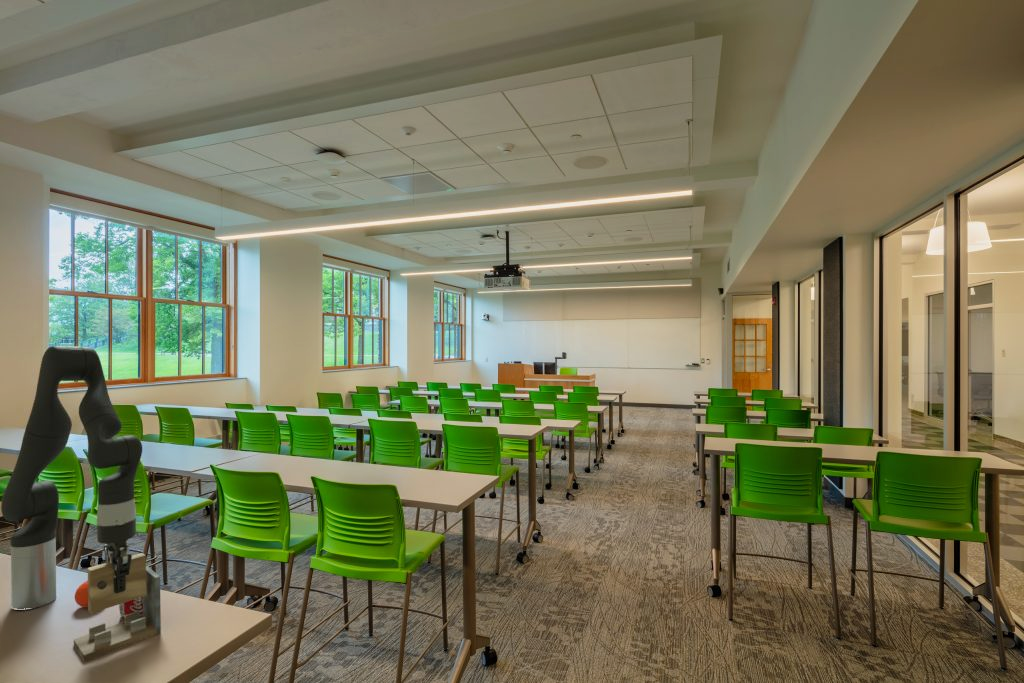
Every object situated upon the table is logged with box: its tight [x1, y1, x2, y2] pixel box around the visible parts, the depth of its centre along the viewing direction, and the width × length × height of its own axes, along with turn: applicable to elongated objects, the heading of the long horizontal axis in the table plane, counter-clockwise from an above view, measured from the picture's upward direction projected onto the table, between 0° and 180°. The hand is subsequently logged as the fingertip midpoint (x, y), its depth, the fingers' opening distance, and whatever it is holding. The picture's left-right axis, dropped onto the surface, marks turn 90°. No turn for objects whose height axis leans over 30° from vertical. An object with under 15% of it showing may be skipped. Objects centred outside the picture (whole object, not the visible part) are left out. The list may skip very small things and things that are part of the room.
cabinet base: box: [73, 565, 162, 663], centre depth 127 cm, size 10×15×14 cm, turn 141°
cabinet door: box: [87, 552, 147, 614], centre depth 127 cm, size 4×11×10 cm, turn 141°
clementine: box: [74, 580, 88, 608], centre depth 144 cm, size 8×7×7 cm
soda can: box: [118, 563, 150, 618], centre depth 139 cm, size 7×7×12 cm
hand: (117, 589), depth 127 cm, fingers closed on cabinet door, 2 cm apart
